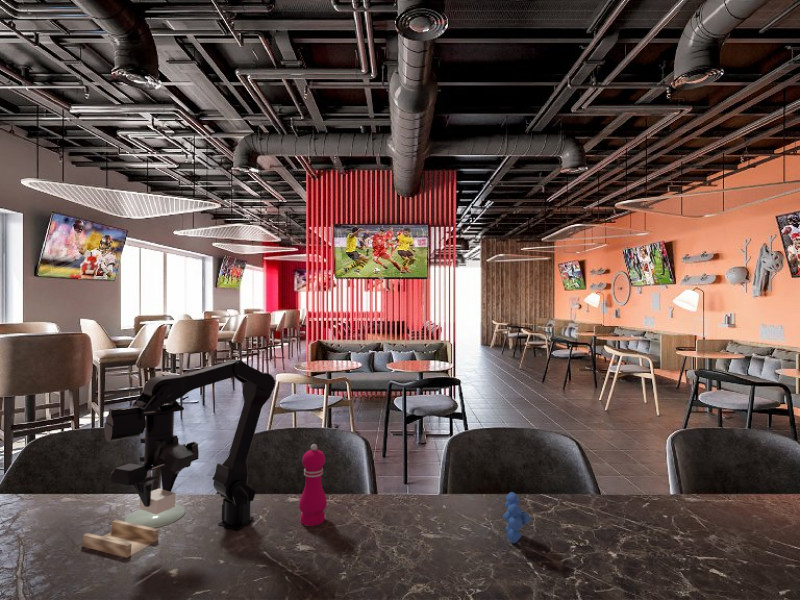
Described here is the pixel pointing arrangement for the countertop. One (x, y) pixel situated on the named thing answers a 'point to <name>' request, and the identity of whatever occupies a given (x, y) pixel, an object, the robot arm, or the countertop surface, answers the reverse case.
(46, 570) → the countertop surface
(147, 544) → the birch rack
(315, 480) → the pepper mill
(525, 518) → the grapes
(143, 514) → the green plate
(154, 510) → the cream block
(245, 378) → the robot arm
